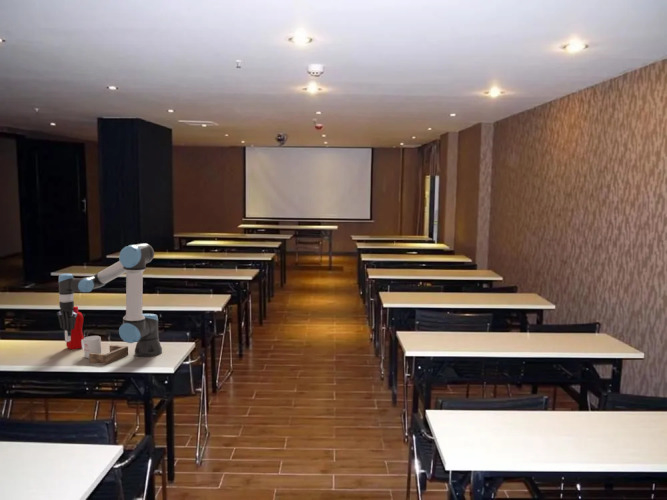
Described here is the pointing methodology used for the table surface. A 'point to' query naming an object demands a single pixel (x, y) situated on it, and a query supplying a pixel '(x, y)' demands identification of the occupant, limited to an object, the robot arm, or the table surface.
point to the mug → (91, 345)
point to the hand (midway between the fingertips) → (67, 341)
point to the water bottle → (76, 332)
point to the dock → (109, 355)
